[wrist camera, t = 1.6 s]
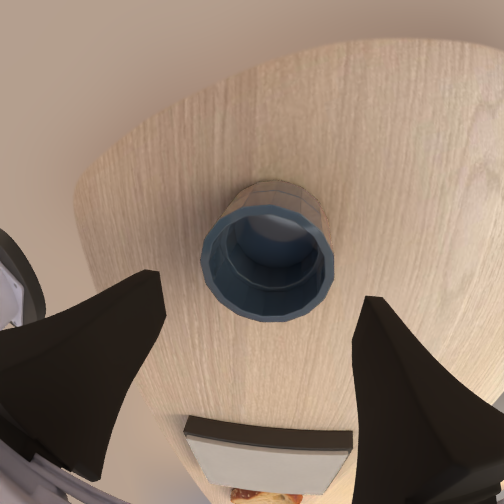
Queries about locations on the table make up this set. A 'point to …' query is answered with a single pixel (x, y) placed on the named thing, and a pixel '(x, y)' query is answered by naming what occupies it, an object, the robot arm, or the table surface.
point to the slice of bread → (263, 497)
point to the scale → (267, 456)
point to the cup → (270, 253)
